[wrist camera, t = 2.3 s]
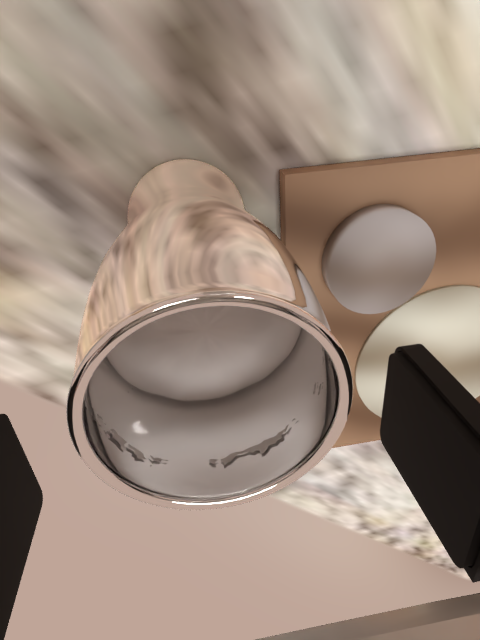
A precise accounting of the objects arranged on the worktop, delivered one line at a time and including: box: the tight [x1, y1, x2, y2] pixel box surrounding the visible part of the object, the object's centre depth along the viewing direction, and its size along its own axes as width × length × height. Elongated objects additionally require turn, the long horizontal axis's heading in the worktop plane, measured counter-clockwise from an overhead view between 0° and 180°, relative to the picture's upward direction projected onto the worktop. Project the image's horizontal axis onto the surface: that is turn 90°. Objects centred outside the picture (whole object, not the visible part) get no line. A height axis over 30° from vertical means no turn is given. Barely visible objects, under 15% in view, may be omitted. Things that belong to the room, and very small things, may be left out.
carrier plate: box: [279, 148, 480, 448], centre depth 27 cm, size 20×16×2 cm
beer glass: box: [67, 159, 353, 510], centre depth 16 cm, size 7×7×15 cm
